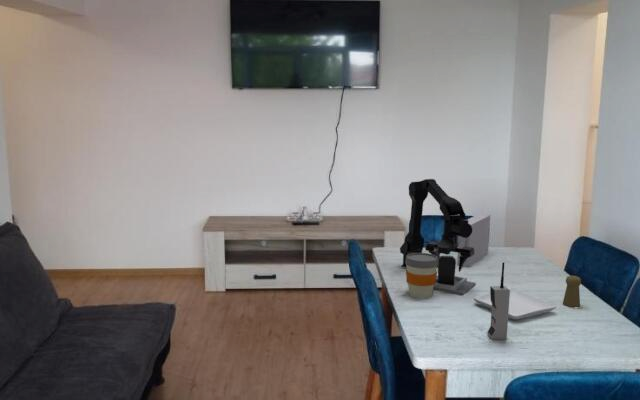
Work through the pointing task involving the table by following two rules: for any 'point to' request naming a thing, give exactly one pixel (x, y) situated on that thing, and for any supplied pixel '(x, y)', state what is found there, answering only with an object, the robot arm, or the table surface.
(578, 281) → the cork
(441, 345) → the table surface
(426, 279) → the reusable coffee cup
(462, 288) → the charging dock
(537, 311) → the salad plate
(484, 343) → the table surface
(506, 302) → the vintage mobile phone
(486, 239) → the game console
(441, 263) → the battery charger
